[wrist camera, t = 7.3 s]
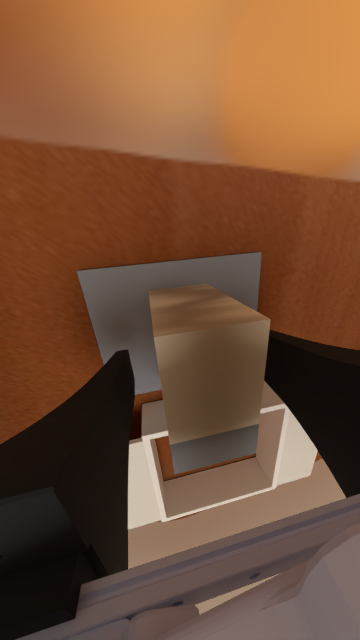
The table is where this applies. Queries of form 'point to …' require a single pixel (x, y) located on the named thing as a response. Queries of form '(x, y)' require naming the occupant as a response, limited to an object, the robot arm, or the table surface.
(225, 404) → the block
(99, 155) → the table surface
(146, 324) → the mat
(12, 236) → the table surface
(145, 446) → the beige hollow rectangular frame
